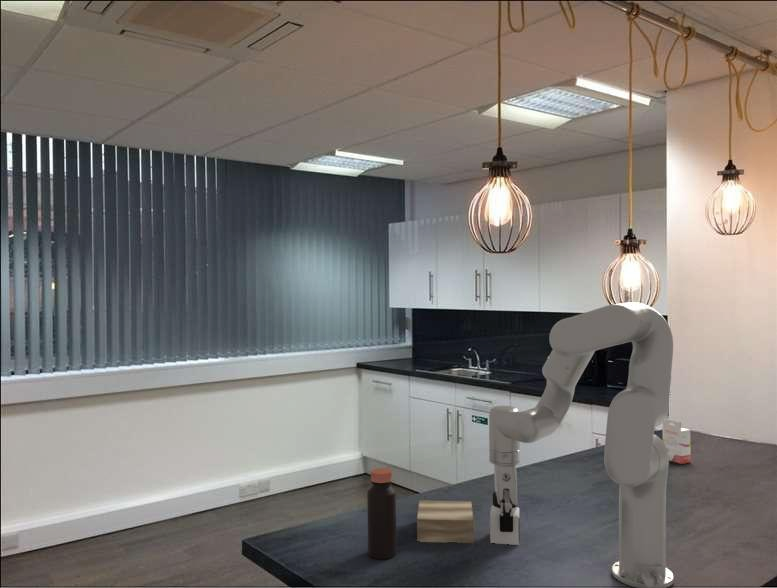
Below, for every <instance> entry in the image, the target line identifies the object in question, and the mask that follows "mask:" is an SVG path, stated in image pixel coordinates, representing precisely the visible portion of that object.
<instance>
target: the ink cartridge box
mask: <svg viewBox="0 0 777 588" xmlns="http://www.w3.org/2000/svg"><path fill="white" fill-rule="evenodd" d="M671 424H674V425H671ZM662 441H663V442H664V444H665V446H666V448H667V451H668V456H669V462H673V463H677V464H679V465H683V464H690V463H691V460H692V459H691V458H692V457H691V453H692V452H691V450H692V449H691V446H692V445H691V429H688V428H685V427H684V428H683V427H682V422H681V421H677V420H673V419H669V418H666V419H665V421H664V422H663V423H662Z"/></svg>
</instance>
